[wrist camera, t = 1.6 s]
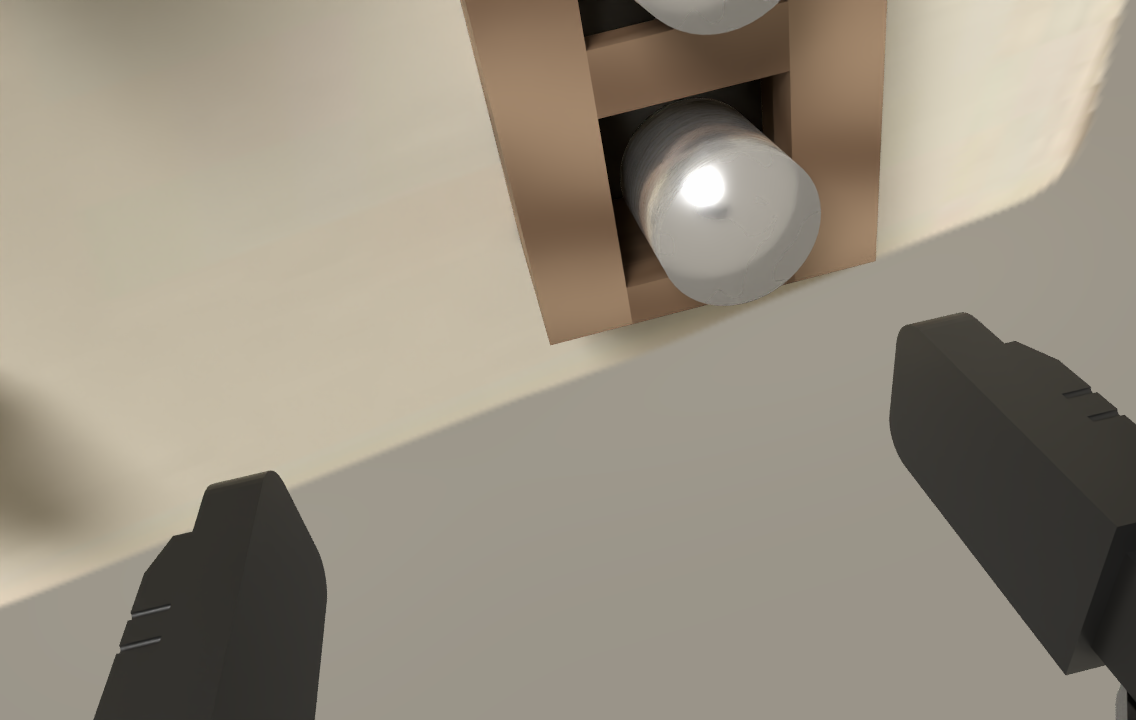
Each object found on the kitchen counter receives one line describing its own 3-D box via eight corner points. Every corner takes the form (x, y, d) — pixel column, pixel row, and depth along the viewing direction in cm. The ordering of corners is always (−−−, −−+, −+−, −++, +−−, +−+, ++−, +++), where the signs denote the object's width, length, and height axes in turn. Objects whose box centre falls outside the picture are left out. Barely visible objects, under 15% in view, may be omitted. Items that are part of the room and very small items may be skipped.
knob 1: (609, 117, 26) (649, 176, 22) (753, 81, 26) (820, 132, 22) (630, 248, 28) (669, 322, 24) (760, 215, 29) (820, 283, 24)
